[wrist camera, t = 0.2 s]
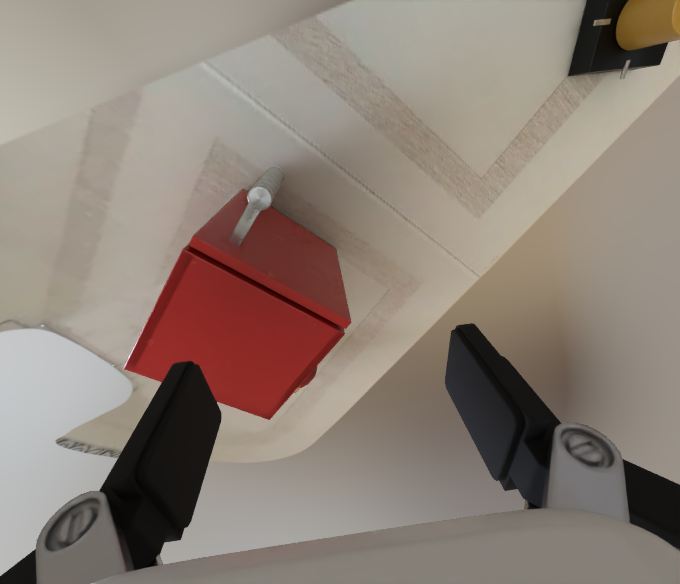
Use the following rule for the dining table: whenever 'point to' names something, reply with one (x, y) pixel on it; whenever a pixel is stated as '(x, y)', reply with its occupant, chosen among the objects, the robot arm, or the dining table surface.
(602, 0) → the plate
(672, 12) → the valve knob
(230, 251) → the cabinet door
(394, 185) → the dining table surface
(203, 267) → the red cabinet
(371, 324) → the dining table surface
